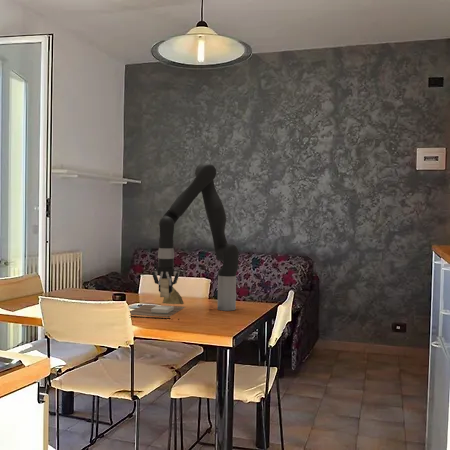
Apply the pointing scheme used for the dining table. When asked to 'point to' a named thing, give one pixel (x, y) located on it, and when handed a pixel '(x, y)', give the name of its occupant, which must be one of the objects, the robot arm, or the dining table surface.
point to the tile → (162, 309)
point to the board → (146, 311)
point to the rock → (173, 298)
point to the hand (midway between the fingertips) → (165, 292)
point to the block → (164, 288)
